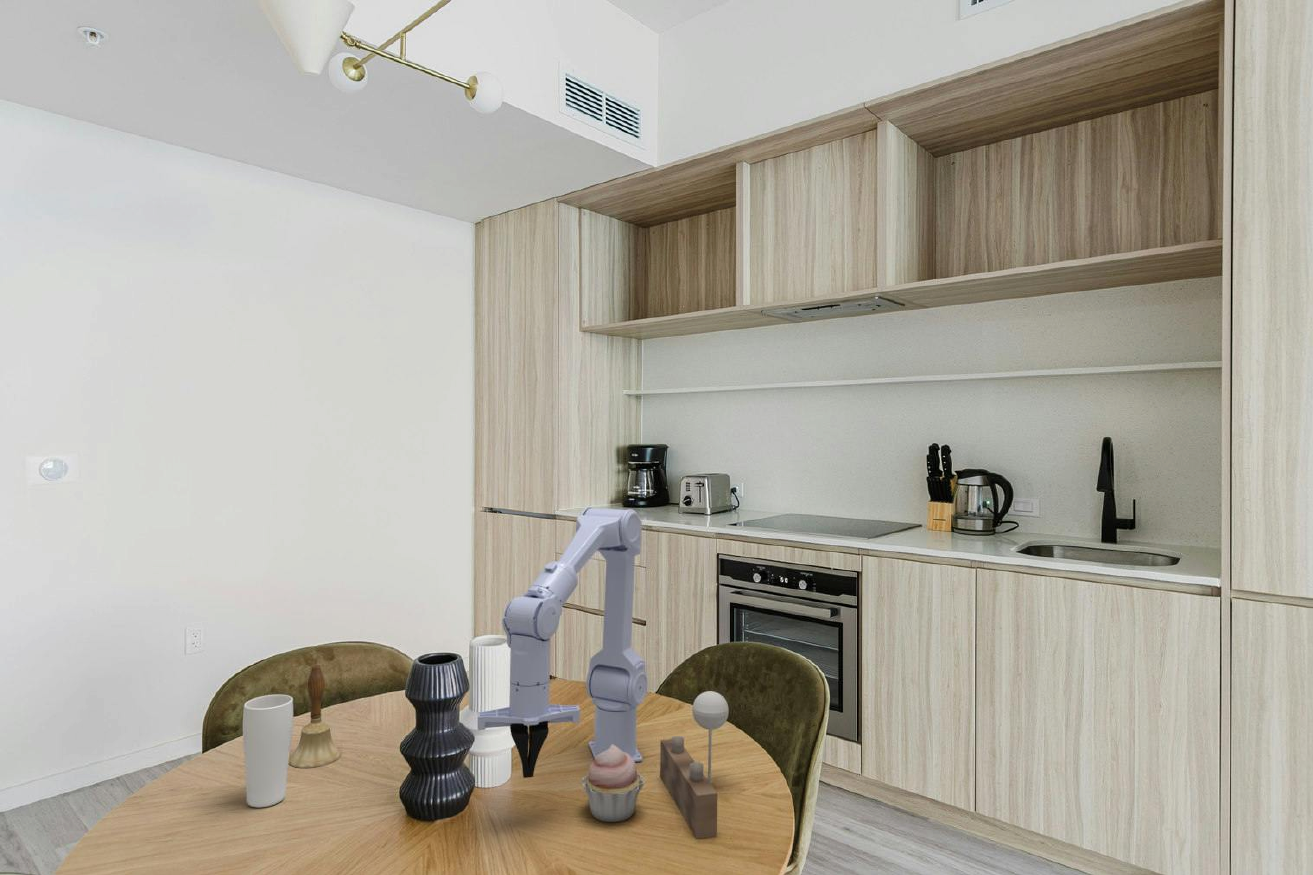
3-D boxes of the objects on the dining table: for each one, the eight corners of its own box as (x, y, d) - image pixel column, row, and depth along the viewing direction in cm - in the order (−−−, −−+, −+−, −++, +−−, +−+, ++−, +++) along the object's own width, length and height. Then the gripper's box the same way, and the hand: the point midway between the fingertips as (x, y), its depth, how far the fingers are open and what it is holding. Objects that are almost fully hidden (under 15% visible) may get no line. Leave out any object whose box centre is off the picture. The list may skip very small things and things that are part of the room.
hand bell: (333, 767, 123) (335, 671, 123) (281, 769, 122) (283, 673, 122) (346, 747, 131) (348, 658, 131) (297, 749, 130) (299, 659, 130)
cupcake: (629, 793, 115) (630, 729, 115) (653, 821, 106) (654, 751, 107) (572, 804, 111) (573, 737, 111) (592, 833, 103) (593, 762, 103)
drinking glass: (301, 794, 113) (303, 697, 113) (264, 815, 106) (267, 711, 107) (267, 787, 115) (270, 691, 115) (229, 807, 109) (232, 705, 109)
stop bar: (659, 776, 121) (660, 727, 121) (677, 774, 122) (678, 726, 122) (696, 838, 102) (697, 781, 102) (716, 836, 102) (717, 778, 103)
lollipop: (725, 796, 114) (726, 699, 115) (688, 792, 116) (689, 696, 116) (729, 778, 120) (730, 687, 121) (694, 775, 122) (695, 684, 122)
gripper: (478, 692, 100) (476, 792, 100) (583, 685, 104) (581, 781, 104) (478, 676, 107) (476, 770, 107) (576, 671, 111) (574, 761, 111)
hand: (527, 774), depth 106 cm, fingers closed
